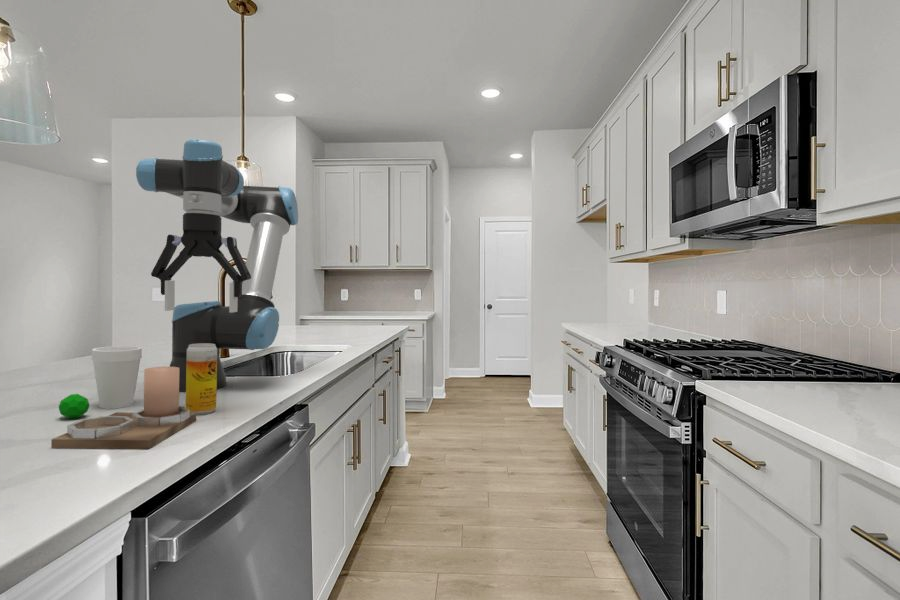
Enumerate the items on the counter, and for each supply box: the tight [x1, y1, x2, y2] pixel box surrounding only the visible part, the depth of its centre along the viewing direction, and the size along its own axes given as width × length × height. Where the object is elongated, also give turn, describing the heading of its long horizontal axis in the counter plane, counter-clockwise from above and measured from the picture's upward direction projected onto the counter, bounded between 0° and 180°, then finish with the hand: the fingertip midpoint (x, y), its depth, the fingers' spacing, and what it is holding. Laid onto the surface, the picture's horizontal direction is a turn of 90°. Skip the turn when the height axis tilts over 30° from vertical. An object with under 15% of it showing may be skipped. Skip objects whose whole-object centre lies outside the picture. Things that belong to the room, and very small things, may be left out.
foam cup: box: [91, 345, 143, 409], centre depth 113 cm, size 10×9×13 cm
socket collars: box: [66, 405, 190, 439], centre depth 94 cm, size 17×16×2 cm
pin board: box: [50, 411, 197, 450], centre depth 94 cm, size 18×16×2 cm
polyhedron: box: [58, 393, 90, 420], centre depth 102 cm, size 5×5×5 cm
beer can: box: [185, 343, 218, 416], centre depth 110 cm, size 6×6×15 cm
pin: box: [143, 366, 180, 417], centre depth 98 cm, size 6×6×10 cm
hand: (201, 311), depth 109 cm, fingers open, 13 cm apart
